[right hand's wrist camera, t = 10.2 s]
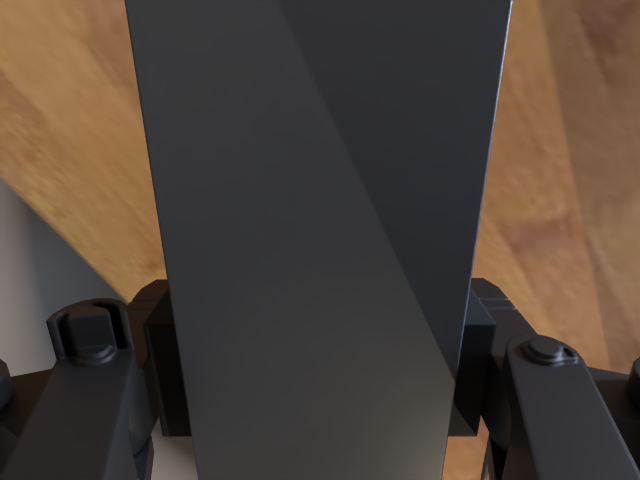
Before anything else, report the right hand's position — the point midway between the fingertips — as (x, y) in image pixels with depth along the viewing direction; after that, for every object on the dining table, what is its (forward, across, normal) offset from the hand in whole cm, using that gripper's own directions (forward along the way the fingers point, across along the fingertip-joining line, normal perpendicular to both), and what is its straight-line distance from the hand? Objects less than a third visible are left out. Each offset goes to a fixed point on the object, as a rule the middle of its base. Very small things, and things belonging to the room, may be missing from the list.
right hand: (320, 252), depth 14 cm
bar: (0, 0, -24) cm, 25 cm away
